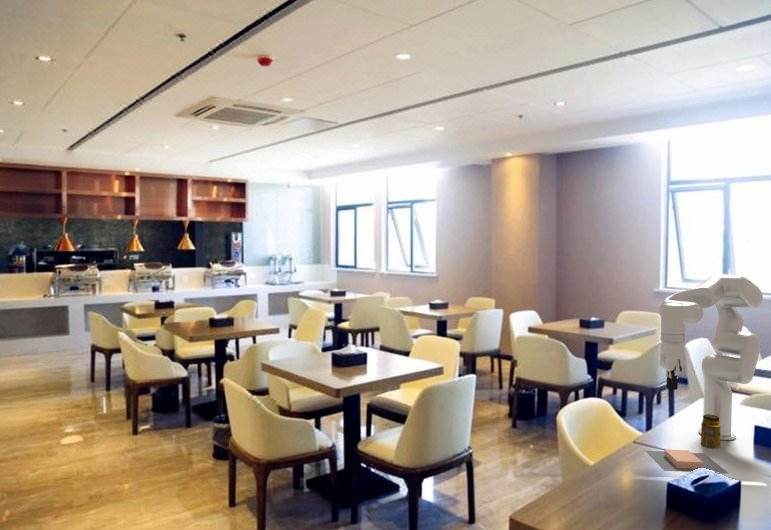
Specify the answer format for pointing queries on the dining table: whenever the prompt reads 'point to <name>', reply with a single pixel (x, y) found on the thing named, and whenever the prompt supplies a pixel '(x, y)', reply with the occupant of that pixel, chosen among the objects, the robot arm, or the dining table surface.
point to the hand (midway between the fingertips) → (671, 388)
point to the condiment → (710, 431)
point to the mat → (669, 466)
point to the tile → (683, 459)
